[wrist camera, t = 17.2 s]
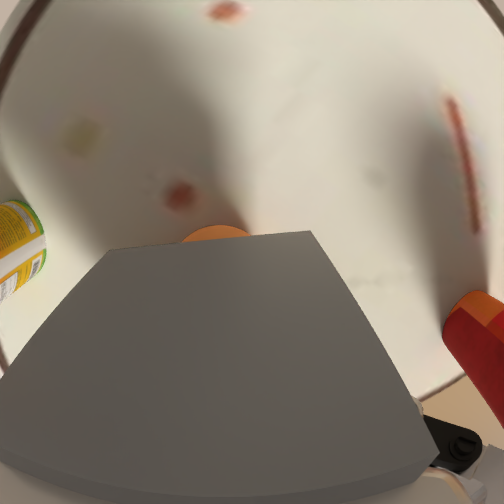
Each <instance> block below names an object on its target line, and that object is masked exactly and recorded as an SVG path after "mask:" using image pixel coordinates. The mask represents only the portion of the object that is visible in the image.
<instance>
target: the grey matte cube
mask: <svg viewBox="0 0 504 504" xmlns="http://www.w3.org/2000/svg"><path fill="white" fill-rule="evenodd" d="M439 453H440V452H439V450H438V448H437V446H436V444H435V442H434V440H433V438H432V436H431V434H430V432H429V430H428V428H427V426H426V424H425V422H424V420H423V418H422V416H421V414H420V412H419V410H418V408H417V406H416V404H415V402H414V400H413V399H412V397H411V395H410V393H409V391H408V389H407V387H406V386H405V384H404V382H403V380H402V378H401V376H400V375H399V373H398V371H397V369H396V367H395V366H394V364H393V362H392V360H391V359H390V357H389V355H388V353H387V352H386V350H385V348H384V346H383V345H382V343H381V341H380V340H379V338H378V336H377V335H376V333H375V331H374V329H373V328H372V326H371V324H370V323H369V321H368V319H367V318H366V316H365V315H364V313H363V311H362V310H361V308H360V306H359V305H358V303H357V301H356V300H355V298H354V297H353V295H352V293H351V292H350V290H349V289H348V287H347V286H346V284H345V282H344V281H343V279H342V278H341V276H340V275H339V273H338V272H337V270H336V268H335V267H334V265H333V264H332V262H331V261H330V259H329V258H328V256H327V255H326V253H325V252H324V250H323V249H322V247H321V246H320V244H319V243H318V241H317V240H316V238H315V237H314V235H313V234H312V232H311V231H300V232H288V233H277V234H265V235H254V236H243V237H232V238H222V239H211V240H201V241H191V242H181V243H171V244H162V245H152V246H143V247H133V248H124V249H115V250H109V251H108V252H107V253H106V254H105V255H104V256H103V257H102V258H101V259H100V260H99V261H98V262H97V263H96V264H95V265H94V266H93V267H92V268H91V269H90V271H89V272H88V273H87V274H86V275H85V276H84V277H83V278H82V279H81V280H80V281H79V282H78V283H77V285H76V286H75V287H74V288H73V289H72V290H71V291H70V292H69V293H68V295H67V296H66V297H65V298H64V299H63V300H62V301H61V302H60V304H59V305H58V306H57V307H56V308H55V309H54V311H53V312H52V313H51V314H50V315H49V317H48V318H47V319H46V320H45V321H44V323H43V324H42V325H41V326H40V327H39V329H38V330H37V331H36V332H35V334H34V335H33V336H32V337H31V339H30V340H29V341H28V343H27V344H26V345H25V346H24V348H23V349H22V350H21V352H20V353H19V354H18V356H17V357H16V358H15V360H14V361H13V362H12V364H11V365H10V366H9V368H8V369H7V371H6V372H5V373H4V375H3V376H2V378H1V379H0V461H1V462H3V463H5V464H7V465H9V466H11V467H13V468H15V469H17V470H20V471H22V472H24V473H26V474H29V475H31V476H33V477H36V478H38V479H40V480H43V481H45V482H48V483H51V484H53V485H56V486H59V487H62V488H65V489H68V490H71V491H74V492H77V493H80V494H83V495H87V496H90V497H94V498H97V499H101V500H105V501H109V502H113V503H118V504H341V503H345V502H350V501H354V500H358V499H362V498H365V497H369V496H373V495H376V494H379V493H383V492H386V491H389V490H392V489H395V488H398V487H401V486H404V485H407V484H410V483H412V482H415V481H416V480H417V479H418V478H419V477H420V476H421V474H422V473H423V472H424V471H425V470H426V469H427V467H428V466H429V465H430V464H431V463H432V462H433V460H434V459H435V458H436V457H437V455H438V454H439Z"/></svg>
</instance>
